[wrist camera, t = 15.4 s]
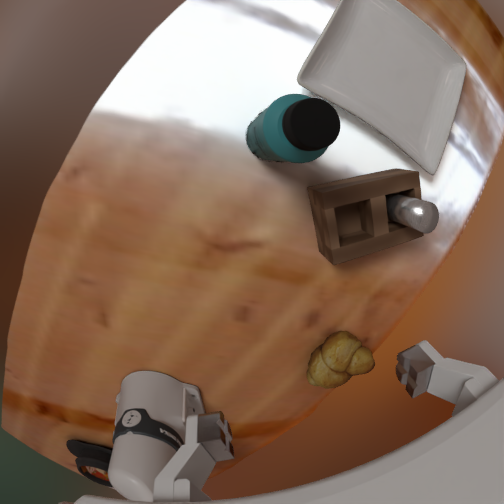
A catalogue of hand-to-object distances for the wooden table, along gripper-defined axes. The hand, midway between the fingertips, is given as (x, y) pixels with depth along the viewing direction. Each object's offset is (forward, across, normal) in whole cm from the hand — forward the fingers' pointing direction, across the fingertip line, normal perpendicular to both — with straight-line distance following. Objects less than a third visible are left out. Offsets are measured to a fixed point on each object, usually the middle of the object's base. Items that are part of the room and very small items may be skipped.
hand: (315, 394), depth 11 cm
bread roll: (+31, +9, -28) cm, 43 cm away
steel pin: (+29, +22, -2) cm, 36 cm away
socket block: (+31, +18, -2) cm, 36 cm away
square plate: (+32, +30, +20) cm, 48 cm away
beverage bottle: (+31, +6, +11) cm, 34 cm away
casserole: (+31, -56, -53) cm, 83 cm away
